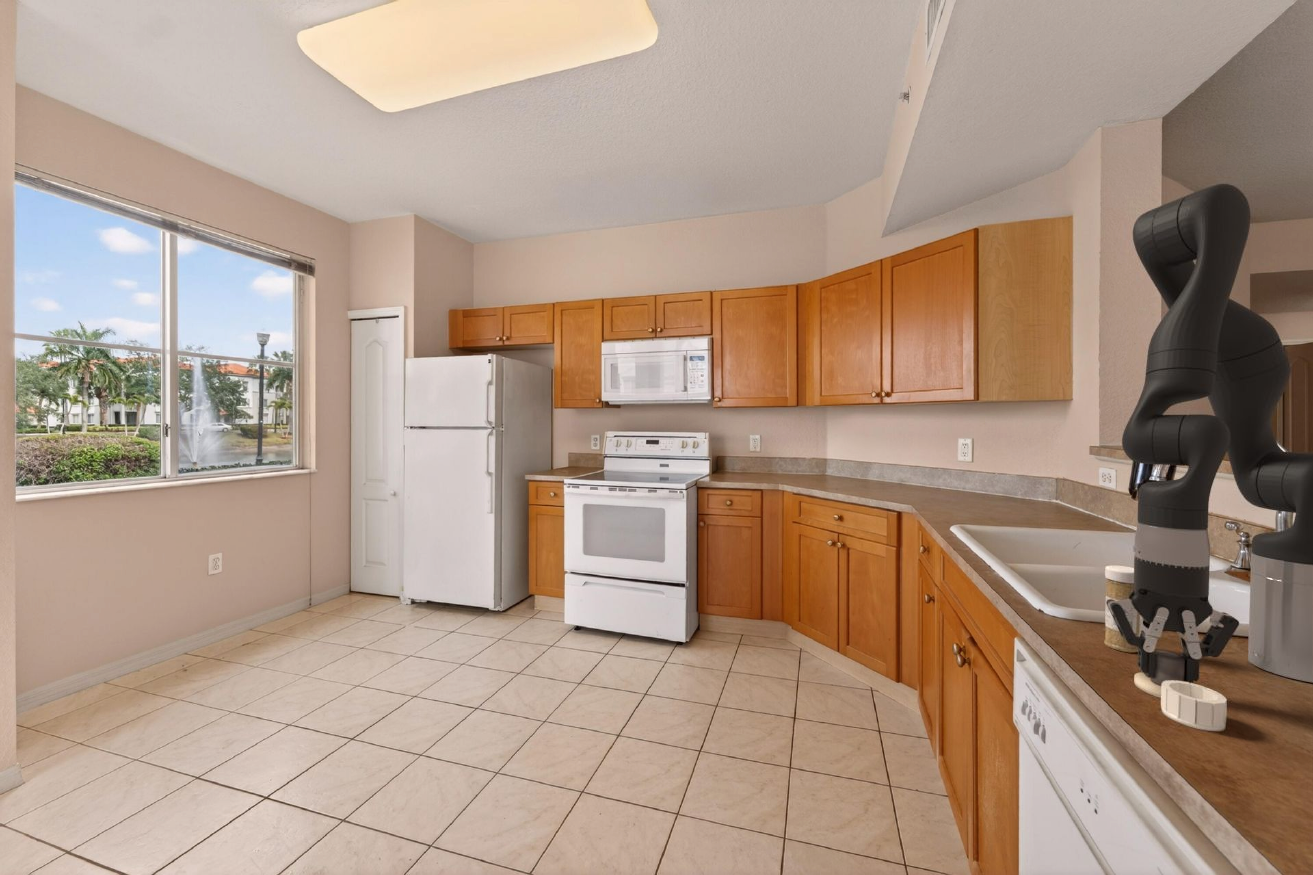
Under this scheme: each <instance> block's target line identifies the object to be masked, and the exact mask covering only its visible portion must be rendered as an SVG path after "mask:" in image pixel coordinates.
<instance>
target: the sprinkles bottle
mask: <svg viewBox="0 0 1313 875" xmlns="http://www.w3.org/2000/svg"><path fill="white" fill-rule="evenodd" d="M1104 569H1105V570H1104V577H1105V580H1106V583H1105V586H1106V588H1105V589H1106V591H1105V592H1106V593H1105V610H1104V612H1105V613H1104V614H1105V615H1104V616H1105V620H1104V621H1105V622H1104V625H1105V638H1104V641H1103V643H1104V645H1105V646H1106V647H1109V648H1111V649H1113V650H1117V651H1119V652H1124V653H1125V652H1126V653H1138V647H1136V646H1134V645H1130V644H1128V643H1127V642H1126V640H1125V639H1124V638H1123V637H1122V636H1121V634H1120V632H1119V630H1118V627H1117V625H1116V623H1115V621H1114V619H1113V617H1112V615H1111V612H1110V610H1109V608H1108V606H1107V604H1106V602H1107V600H1109V599H1113V600H1115V601H1119V600H1124V599H1129V596H1130V594H1131V593H1132V592H1133V589H1134V567H1130V566H1124V565H1107V566H1105V568H1104ZM1130 612H1131V614H1130V615H1129V616H1127V619H1128V621H1129V623H1130V625H1131V627H1132V630H1133V632H1134V634H1135V635H1136V636H1138V635H1139V632H1140V623H1141V615H1140V614H1139V613H1138V612H1137V611H1136V609H1135V608H1134V607H1132V608H1131V609H1130Z"/></svg>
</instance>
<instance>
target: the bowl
mask: <svg viewBox="0 0 1313 875" xmlns="http://www.w3.org/2000/svg"><path fill="white" fill-rule="evenodd" d="M1227 703H1228V700H1227V698H1226V697H1225V696H1224V695H1223V694H1222V693H1220V692H1218V691H1215V690H1214V689H1211V688H1208V687H1206V686H1203V685H1200V684H1196V683H1194V682H1193V683H1189V682H1183V681H1177V680H1176V681H1174V680H1168V681H1163V683H1162V684H1161V698H1160V707H1161V713H1163V715H1164V716H1165V717H1168V718H1169V719H1171V720H1172V721H1175V722H1177V723H1179V724H1181V725H1184V726H1187V727H1191V728H1193V729H1197V730H1201V731H1205V732H1206V731H1207V732H1223V731H1225V730H1226V723H1227V708H1228V706H1227Z"/></svg>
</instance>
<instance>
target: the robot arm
mask: <svg viewBox="0 0 1313 875" xmlns="http://www.w3.org/2000/svg"><path fill="white" fill-rule="evenodd" d="M1250 225H1251V208H1250V204H1249V201H1248V198H1247V197H1246V195H1245V194H1244V193H1243V192H1242V190H1240V189H1239V188H1238V187H1236V186H1235V185H1233V184H1229V183H1218V184H1214V185H1211V186H1208V187H1205V188H1202V189H1200V190H1197V191H1194V192H1191V193H1189V194H1187V195H1185V196H1182V197H1180V198H1177V199H1175V200H1172V201H1170V202H1168V203H1165V204H1163V205H1160V206H1157V207H1154V208H1153V209H1151V210H1148V211H1146V212H1144V213H1142V214H1141V215H1140V216H1138V218H1137V219H1136V221H1135V222H1134V224H1133V228H1132V241H1133V245H1134V250H1135V251H1136V254H1137V256H1138V258H1139V260H1140V262H1141V264H1142V266H1143V268H1144V269H1145V271H1146V273H1147V275H1148V277H1149V278H1150V280H1151V281H1152V284H1154V287H1156V290H1157V291H1158V293H1159V295H1160V296H1161V298H1162V300H1163V301H1164V303H1165V305H1166V306H1167V308H1168V311H1167V312H1166V314H1165V315H1164V316H1163V318H1162V319H1161V320H1160V322H1159V323H1158V325H1157V327H1156V328H1155V330H1154V332H1153V334H1152V337H1151V338H1150V342H1149V344H1148V349H1147V350H1148V351H1147V356H1146V357H1147V358H1146V366H1145V377H1144V378H1145V379H1144V383H1143V388H1142V391H1141V394H1140V397H1139V399H1138V400H1137V403H1136V406H1135V407H1134V410H1133V412H1132V414H1131V416H1130V417H1129V419H1128V421H1127V423H1126V426H1125V428H1124V430H1123V434H1122V439H1121V445H1122V450H1123V452H1124V453H1125V455H1126V456H1127V457H1128V458H1129V459H1130V460H1131V461H1132V462H1135V463H1138V464H1144V465H1161V466H1162V465H1163V466H1183V467H1184V466H1187V467H1188V468H1187V470H1186V473H1185V474H1184V475H1183V476H1182V477H1180V478H1178V479H1177V478H1176V479H1171V480H1170V479H1169V480H1161V481H1160V480H1159V481H1158V480H1157V481H1151V482H1150V481H1149V482H1145V483H1143V484H1142V485H1141V486H1140V487H1139V489H1138V493H1137V524H1136V530H1135V534H1134V545H1133V549H1132V550H1133V553H1134V554H1133V555H1134V556H1133V557H1134V558H1133V559H1134V560H1133V568H1134V589H1133V592H1132V593H1131V594H1130V596H1129V599H1124V600H1119V601H1115V600H1113V599H1109V600H1107V602H1106V601H1105V605H1106V604H1107V606H1108V608H1109V610H1110V612H1111V615H1112V617H1113V619H1114V621H1115V623H1116V625H1117V627H1118V630H1119V632H1120V634H1121V636H1122V637H1123V638H1124V639H1125V640H1126V642H1127V643H1128V644H1130V645H1134V646H1136V647H1138V652H1137V667H1138V669H1139V670H1140V672H1143V673H1144V674H1145V675H1146V676H1147V677H1148V678H1155V663H1156V654H1155V653H1154V652H1153V651H1154V650H1156V646H1157V643H1158V640H1159V639H1160V638H1161V636H1162V634H1163V631H1174V632H1177V635H1178V637H1179V641H1180V644H1181V649H1182V651H1181V652H1179V655H1180V656H1182V657H1183V658H1184V659H1185V679H1184V682H1189V683H1193V684H1194V682H1197V681H1198V680H1199V679H1200V660H1201V659H1202V658H1206V657H1211V658H1219V657H1220V655H1221V654H1222V652H1223V651H1224V649H1225V647H1226V646H1227V644H1228V643H1229V642H1230V641H1231V638H1232V636H1234V633H1235V632H1236V630H1237V628H1238V627H1239V626H1240V621H1239V620H1238V619H1236V618H1235V617H1234V616H1233V615H1231V614H1229V613H1227V612H1223V611H1222V612H1221V611H1218V610H1217V609H1214V608H1213V606H1212V604H1211V603H1210V601H1209V595H1210V562H1211V544H1210V538H1209V529H1208V528H1209V507H1210V506H1209V504H1210V503H1209V502H1210V496H1211V493H1212V492H1211V491H1212V488H1213V484H1214V481H1215V478H1216V476H1217V473H1218V471H1219V468H1220V466H1221V464H1222V462H1223V461H1224V458H1225V457H1226V454H1227V457H1228V460H1229V464H1230V467H1231V472H1232V475H1233V478H1234V481H1235V484H1236V486H1237V489H1238V492H1239V493H1240V494H1241V496H1243V498H1244V499H1245V500H1246V501H1247V502H1248V503H1249V504H1251V505H1253V506H1254V507H1256V508H1257V507H1258V508H1261V509H1266V510H1270V511H1278V512H1286V513H1293V514H1295V516H1294V520H1293V523H1292V525H1291V526H1290V527H1289V528H1287V529H1286V528H1285V529H1284V530H1279V531H1272V532H1262V533H1258V534H1255V535H1254V536H1253V537H1252V539H1251V545H1250V546H1251V549H1250V552H1251V554H1250V586H1249V615H1248V616H1249V617H1248V618H1249V621H1248V647H1247V648H1248V650H1247V651H1248V652H1247V653H1248V654H1247V655H1248V656H1247V661H1248V662H1249V663H1250V664H1252V665H1253V666H1256V667H1258V668H1260V669H1262V670H1264V671H1267V672H1269V673H1273V674H1274V675H1277V676H1278V675H1279V676H1282V677H1285V678H1289V679H1294V680H1298V681H1303V682H1308V683H1313V452H1304V451H1303V452H1301V451H1284V450H1283V449H1282V448H1281V447H1280V445H1279V444H1278V442H1277V440H1276V438H1275V434H1274V432H1273V431H1274V430H1273V426H1272V417H1273V414H1274V412H1275V409H1276V407H1277V405H1278V404H1279V402H1280V399H1281V397H1283V394H1284V393H1285V390H1286V388H1287V385H1288V383H1289V382H1290V377H1291V372H1292V366H1291V362H1290V359H1289V357H1288V355H1287V352H1286V349H1285V347H1284V345H1283V343H1282V342H1283V341H1281V338H1280V336H1279V334H1278V331H1277V330H1276V328H1275V327H1274V325H1273V324H1272V323H1270V322H1269V320H1267V319H1266V318H1264V317H1263V316H1262V315H1260V314H1258V312H1255V311H1253V310H1252V309H1249V308H1248V307H1246V306H1244V305H1242V304H1240V303H1239V302H1237V301H1235V300H1233V299H1231V298H1230V297H1231V292H1232V289H1233V288H1234V285H1235V281H1236V279H1237V274H1238V272H1239V268H1240V264H1241V261H1242V258H1243V254H1244V251H1245V248H1246V245H1247V241H1248V238H1249V237H1248V236H1249V232H1250V227H1251V226H1250ZM1194 261H1195V262H1194ZM1204 398H1207V399H1208V401H1209V404H1210V406H1211V408H1212V410H1213V415H1212V414H1202V413H1201V414H1198V413H1197V414H1165V413H1166V412H1167V410H1168V409H1169V408H1171V407H1172V406H1175V405H1177V404H1181V403H1187V402H1192V401H1197V400H1201V399H1204ZM1132 607H1134V608H1135V609H1136V611H1137V612H1138V613H1139V614H1140V618H1141V619H1140V631H1139V635H1138V636H1136V635H1135V634H1134V632H1133V630H1132V627H1131V625H1130V623H1129V621H1128V619H1127V616H1129V615H1130V614H1131V612H1130V609H1131V608H1132ZM1208 618H1209V620H1208V622H1209V624H1210V626H1209V628H1208V630H1207V631H1206V633H1205V635H1204V636H1203V638H1202V640H1200V636H1199V633H1198V629H1197V628H1198V627H1199V626H1200V625H1201V624H1202V623H1203V622H1204V621H1206V620H1207V619H1208Z"/></svg>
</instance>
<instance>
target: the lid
mask: <svg viewBox="0 0 1313 875" xmlns="http://www.w3.org/2000/svg"><path fill="white" fill-rule="evenodd" d="M1153 652H1154V653H1155V654H1156V663H1155V678H1148V677H1147V676H1146V675H1145V674H1144V673H1143V672H1142V671H1140V672H1137V673H1135V674H1134V677H1133V678H1134V679H1133V680H1134V681H1133V682H1134V685H1135V687H1136V688H1138V689H1139V690H1141V691H1143V692H1144V693H1146V694H1149V695H1151V696H1153V697H1156V698H1160V699H1161V684H1162V683H1163V681H1168V680H1174V681H1176V680H1177V681H1183V682H1184V679H1185V659H1184V658H1183V657H1182V656H1180V654H1177V653H1174V652H1171V651H1167V650H1158V649H1157V650H1156V649H1154V651H1153Z"/></svg>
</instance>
